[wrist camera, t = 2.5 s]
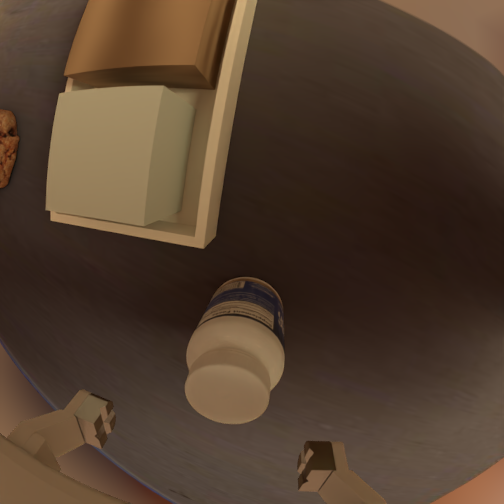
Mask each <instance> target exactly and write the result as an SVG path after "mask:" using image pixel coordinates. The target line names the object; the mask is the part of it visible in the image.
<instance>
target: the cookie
mask: <svg viewBox="0 0 504 504" xmlns="http://www.w3.org/2000/svg"><path fill="white" fill-rule="evenodd" d="M16 123H17V122H16V119H15V116H14V114H13V113H12V112H11V111H7V110H1V109H0V188H4V187H5V186H6V185H7V184H8V182H9V178H10V175H11V171H12V168H13V165H14V162H15V159H16V154H17V153H16V151H18V150H17V148H18V142H19V140H20V139H19V136H17V130H16V129H17V125H16Z"/></svg>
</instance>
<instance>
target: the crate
mask: <svg viewBox="0 0 504 504" xmlns="http://www.w3.org/2000/svg"><path fill="white" fill-rule="evenodd" d="M256 4H257V0H235V2H234V6H233V10H232V14H231V18H230V22H229V26H228V31H227V35H226V39H225V44H224V48H223V53H222V57H221V62H220V67H219V71H218V76H217V81H216V86H215V90H208V89H188V88H168V89H169V90H171V91H172V92H174V93H175V94H176V95H178V96H179V97H180V98H182V99H183V100H184V101H186V102H187V103H189V104H190V105H191V106H193V107H194V108H195V109H197V110H196V115H195V121H194V126H193V132H192V138H191V145H190V151H189V157H188V164H187V171H186V178H185V186H184V194H183V202H182V210H181V211H180V212H177V213H175V214H172V215H170V216H167V217H165V218H162V219H160V220H158V221H155V222H153V223H150V224H148V225H146V226H139V225H133V224H127V223H121V222H116V221H110V220H104V219H98V218H92V217H85V216H79V215H73V214H67V213H61V212H55V211H51V221H56V222H61V223H66V224H71V225H77V226H82V227H88V228H93V229H98V230H104V231H109V232H114V233H120V234H125V235H131V236H136V237H142V238H147V239H152V240H158V241H163V242H169V243H174V244H180V245H185V246H191V247H196V248H202V249H204V248H205V247H206V246H207V245H208V244H209V243H210V242H211V241H212V240H213V239H214V238H215V237H216V231H217V224H218V217H219V210H220V203H221V196H222V189H223V182H224V176H225V169H226V163H227V156H228V150H229V144H230V138H231V132H232V126H233V120H234V115H235V109H236V103H237V98H238V92H239V87H240V82H241V76H242V71H243V66H244V61H245V56H246V51H247V46H248V41H249V36H250V31H251V27H252V22H253V17H254V13H255V8H256ZM88 89H97V88H96V87H93V86H91V85H88V84H85V83H83V82H80V81H77V80H75V79H72V78H69V77H68V81H67V85H66V89H65V92H71V91H79V90H88Z"/></svg>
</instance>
